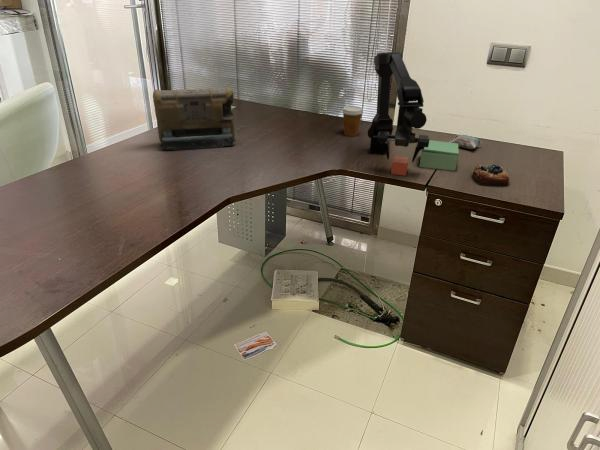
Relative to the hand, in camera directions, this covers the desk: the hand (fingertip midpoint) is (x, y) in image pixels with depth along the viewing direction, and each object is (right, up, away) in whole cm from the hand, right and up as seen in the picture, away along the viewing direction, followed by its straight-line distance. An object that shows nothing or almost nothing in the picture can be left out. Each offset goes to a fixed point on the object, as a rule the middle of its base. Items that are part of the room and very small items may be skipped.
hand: (400, 160), depth 171 cm
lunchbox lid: (+17, +6, +7) cm, 19 cm away
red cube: (0, -4, +2) cm, 5 cm away
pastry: (+32, -8, -3) cm, 33 cm away
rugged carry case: (-82, +11, +27) cm, 87 cm away
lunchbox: (+17, 0, +10) cm, 20 cm away
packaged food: (+34, +9, +27) cm, 44 cm away
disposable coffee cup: (-14, +18, +42) cm, 47 cm away
